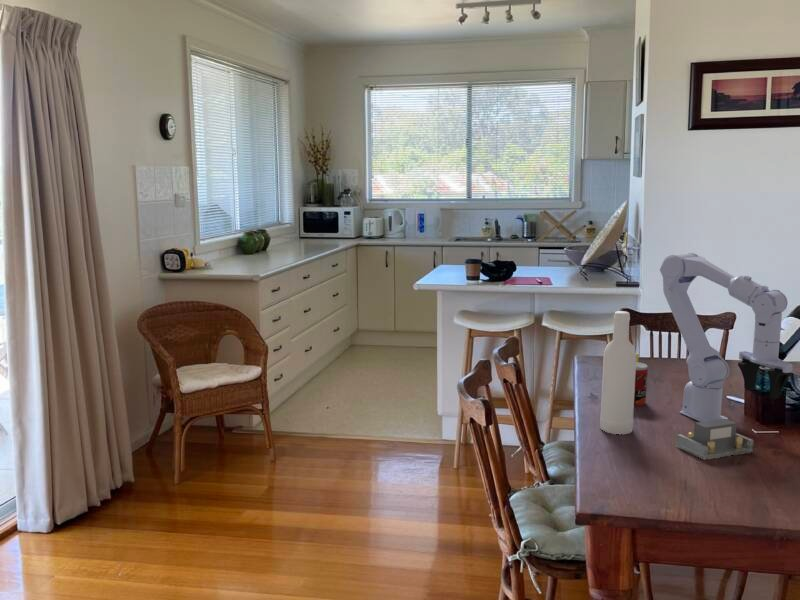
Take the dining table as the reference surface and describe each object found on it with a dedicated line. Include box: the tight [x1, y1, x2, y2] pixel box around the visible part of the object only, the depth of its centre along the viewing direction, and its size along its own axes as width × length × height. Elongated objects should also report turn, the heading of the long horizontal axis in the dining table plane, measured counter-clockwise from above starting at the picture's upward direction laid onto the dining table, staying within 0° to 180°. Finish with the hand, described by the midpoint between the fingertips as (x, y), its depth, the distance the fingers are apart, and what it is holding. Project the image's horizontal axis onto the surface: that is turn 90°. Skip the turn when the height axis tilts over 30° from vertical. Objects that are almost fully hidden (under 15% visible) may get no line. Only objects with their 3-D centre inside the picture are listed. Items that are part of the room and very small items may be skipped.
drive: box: [693, 418, 738, 449], centre depth 176 cm, size 4×9×6 cm, turn 110°
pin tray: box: [675, 431, 754, 461], centre depth 176 cm, size 9×14×4 cm, turn 110°
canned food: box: [634, 361, 649, 407], centre depth 212 cm, size 8×8×11 cm
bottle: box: [599, 310, 637, 436], centre depth 188 cm, size 8×8×30 cm
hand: (762, 394), depth 186 cm, fingers open, 7 cm apart
